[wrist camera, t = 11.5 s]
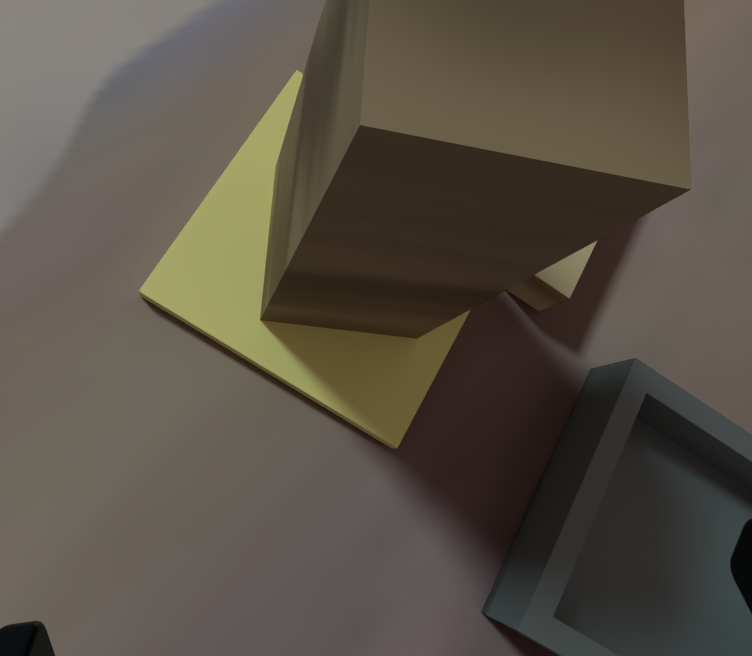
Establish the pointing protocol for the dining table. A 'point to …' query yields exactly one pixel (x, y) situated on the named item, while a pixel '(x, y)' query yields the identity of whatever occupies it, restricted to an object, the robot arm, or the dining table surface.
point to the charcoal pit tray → (633, 527)
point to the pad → (282, 340)
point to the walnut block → (467, 152)
